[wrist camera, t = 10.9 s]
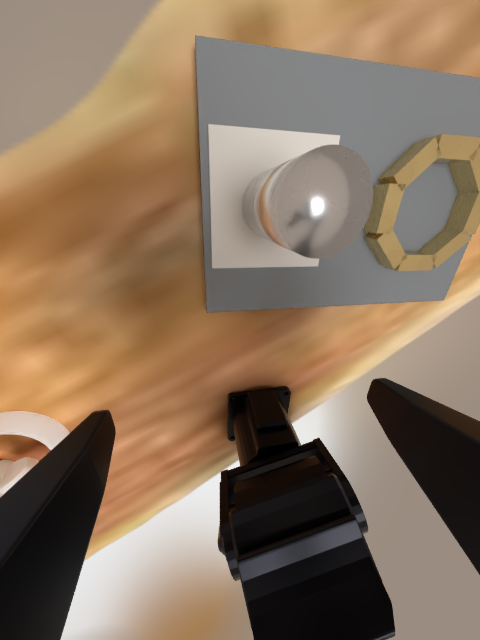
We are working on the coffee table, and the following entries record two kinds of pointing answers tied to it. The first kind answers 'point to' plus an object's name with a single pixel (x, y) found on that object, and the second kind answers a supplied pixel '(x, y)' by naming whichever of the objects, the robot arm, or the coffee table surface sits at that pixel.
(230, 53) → the board
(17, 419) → the hook
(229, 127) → the mat
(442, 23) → the coffee table surface
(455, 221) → the brass octagonal ring
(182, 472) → the coffee table surface
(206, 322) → the coffee table surface
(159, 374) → the coffee table surface
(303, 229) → the peg
